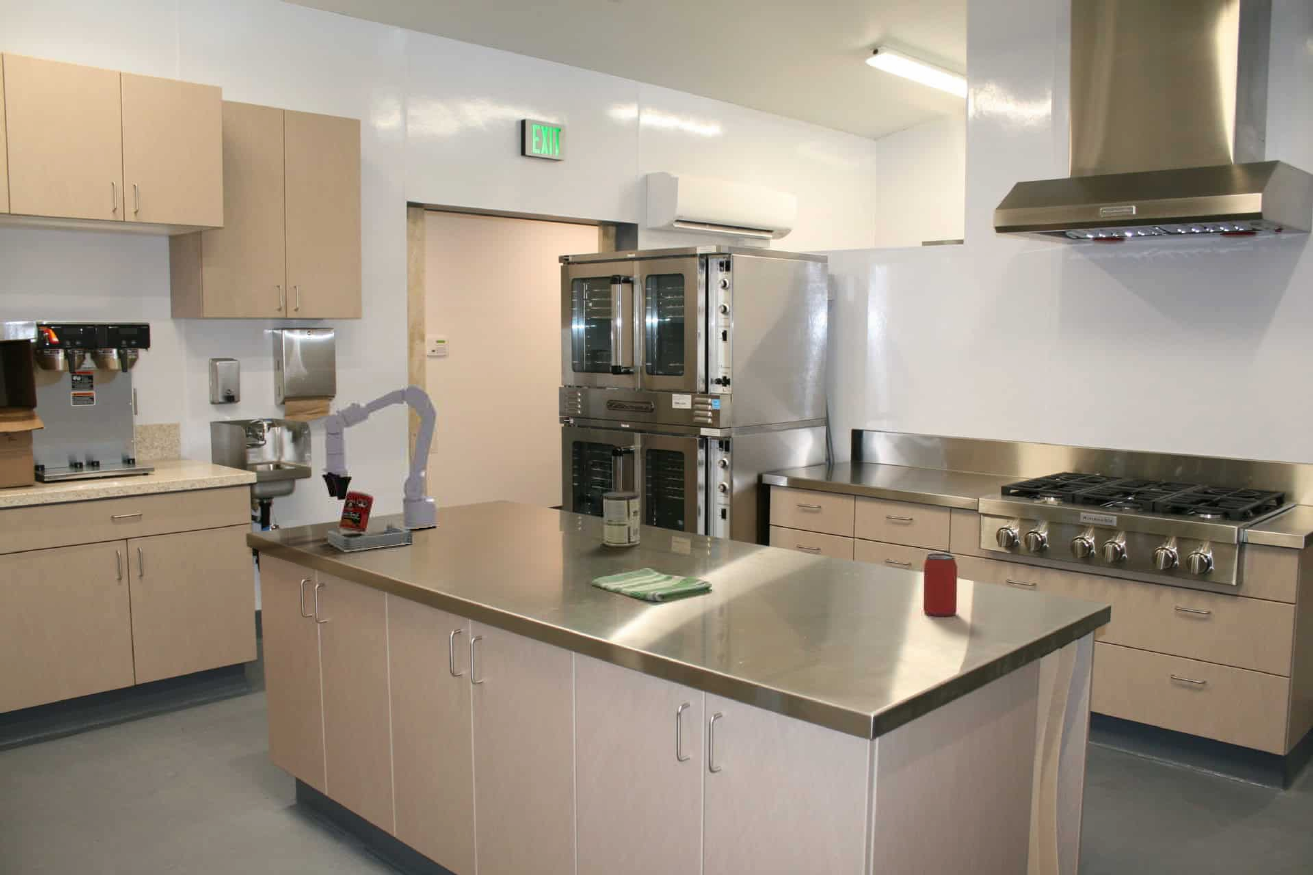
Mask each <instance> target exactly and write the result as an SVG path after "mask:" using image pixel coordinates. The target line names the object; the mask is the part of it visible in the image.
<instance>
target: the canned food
mask: <svg viewBox="0 0 1313 875" xmlns="http://www.w3.org/2000/svg"><path fill="white" fill-rule="evenodd" d="M373 502H374V496H373V495H372V494H368V493H364V492H361V491H355V490H347V494H346V499H345V502H344V504H343V509H342V514H341V518H340V521H339V528H340V529H341V530H345V531H349V532H351V531H357V532H364V533H366V530H367V528H368V527H367V526H368V523H369V518H370V515H371V510H372V506H373ZM357 532H356V533H357Z"/></svg>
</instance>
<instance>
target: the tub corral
mask: <svg viewBox="0 0 1313 875" xmlns="http://www.w3.org/2000/svg"><path fill="white" fill-rule="evenodd" d="M326 532H327V533H326V534H327V535H326V538H327V542H328V541H330V542H331V543H334V544H335V545H336V546H339V547H340V548H342V549H343V550H355V549H362V548H371V547H378V546H390V545H396V544H401V543H412V544H413V531H411V530H406V529H403V528H401V527H399V526H397V525H395V524H393V523H390V524H389V523H388V524H386V534H377V535H368V536H360V537H351V538H349V537H346V536H345V535H342V534H340V533H339V532H336V531H335V530H327V531H326Z"/></svg>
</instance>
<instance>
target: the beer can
mask: <svg viewBox="0 0 1313 875" xmlns="http://www.w3.org/2000/svg"><path fill="white" fill-rule="evenodd" d="M955 558H956V557H955V555H953V554H950V553H943V552H942V553H929V554H927V555H926V559H925V561H924V565H923V612H924V613H925V614H927V615H929V616H933V617H941V618H945V617H952V616H954V615H955V614H956V613H957V609H958V608H957V606H958V604H957V600H958V594H957V593H958V565H957V562H956V560H955Z"/></svg>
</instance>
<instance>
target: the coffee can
mask: <svg viewBox="0 0 1313 875" xmlns="http://www.w3.org/2000/svg"><path fill="white" fill-rule="evenodd" d="M602 498H603V500H602V502H603V504H602V505H603V544H604V543H605V544H604V545H606V546H611V547H627V546H628V547H629V546H635V545H638V544H640V542H641V541H640V493H639V492H637V491H631V490H620V491H619V490H618V491H617V490H616V491H615V490H614V491H609V492H604V493H602Z"/></svg>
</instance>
